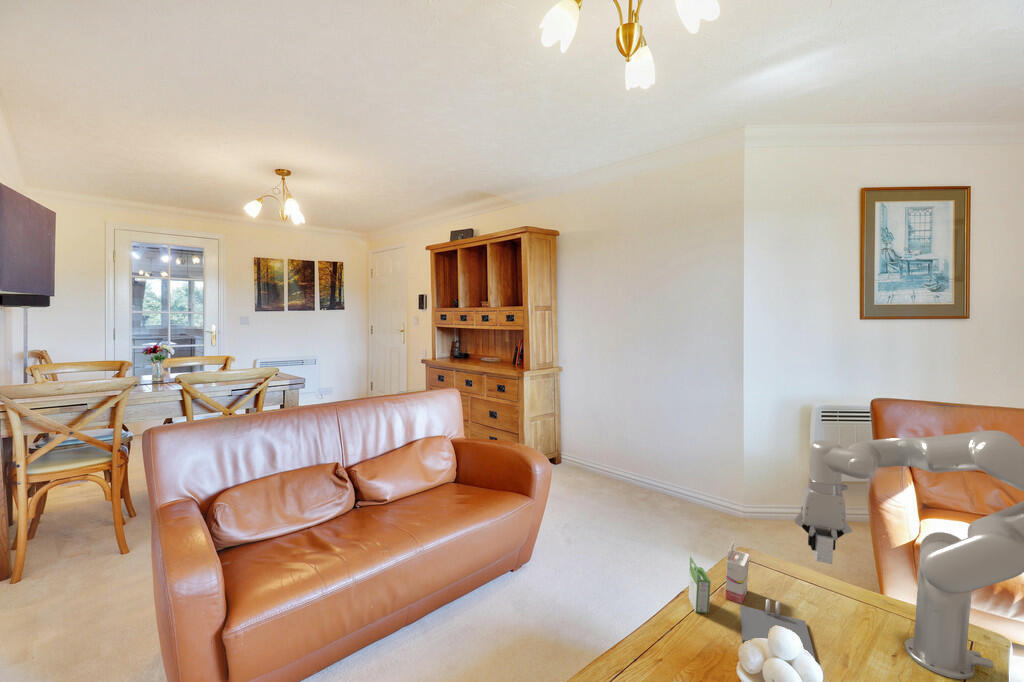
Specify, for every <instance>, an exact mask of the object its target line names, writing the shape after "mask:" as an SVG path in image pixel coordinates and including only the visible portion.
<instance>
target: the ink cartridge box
mask: <svg viewBox="0 0 1024 682" xmlns="http://www.w3.org/2000/svg"><path fill="white" fill-rule="evenodd" d="M734 546H735V541H732V544H731V545H730V547H729V549H728V551H727V558H726V570H725V571H726V573H725V574H726V575H725V576H726V577H725V597H724V598H725V599H727V600H729V601H733V602H735V603H738V604H741V605H742V604H743V603H744V600H745V597H746V594H747V592H748V581H749V579H748V578H749V577H748V576H749V562H750V554H749V553H746V552H742V551H739V550H735V549H734Z"/></svg>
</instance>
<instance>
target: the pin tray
mask: <svg viewBox="0 0 1024 682" xmlns="http://www.w3.org/2000/svg"><path fill="white" fill-rule="evenodd" d="M739 606H740V607H739V608H740V609H739V610H740V613H739V614H740V625H741V626H740V627H741V641H742V644H744V643H743V642H745V641H748V640H751V639H753V638H768V633H769V630H770V628H772V627H773V626H775V625H778V626H782V627H785V628H787V629H790V630H792V631H793V632H795V633H796V634H797V635H798V636H799V637H800V639H801V641H802V643H803V647H804V649H805V650H807V651H808V652H809V653H810V654H811V655H812V656H813V657H814V658H815V659H816V655H815V653H814V649H813V645H812V642H811V637H810V634H809V631H808V626H807V622H806V620H803V619H799V618H794V617H791V616H786V615H782V614H780V612H781V609H780V607H781V602H780V601H778V600H777V601H775V612H771V609H770V608H771V600H770V599H768V598H765V610H761V609H756V608H753V607H749V606H746V605H742V604H741V605H739Z"/></svg>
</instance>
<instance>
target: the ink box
mask: <svg viewBox="0 0 1024 682" xmlns="http://www.w3.org/2000/svg"><path fill="white" fill-rule="evenodd" d="M688 574H689V575H688V576H689V578H688V581H689V582H688V586H689V587H688V600H689V602H690V604H691V606H692V608H693V610H694V612H695V613H698V614H709V613H710V597H711V580H710V578H709V577H708V575H707V573H706V571H705V570H704V568H703V567H699V566H697V563H695V561H694V560H693V558H692V557H691V555H689V573H688Z"/></svg>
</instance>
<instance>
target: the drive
mask: <svg viewBox="0 0 1024 682" xmlns="http://www.w3.org/2000/svg"><path fill="white" fill-rule="evenodd" d="M814 534H815V550H814V551H813V550H812V552H813V555H814V557H815V560H816V562H820V563H826V564H829V565H830V564H831V565H833V559H834V557H833V555H834V550H833V541H834V539H833V536H832V534H831V532H830V529H828V528H822V527H815V531H814Z"/></svg>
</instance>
